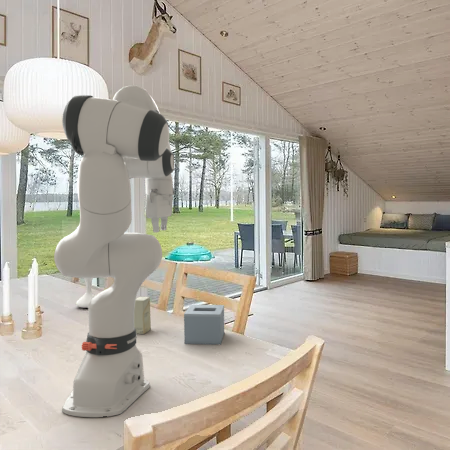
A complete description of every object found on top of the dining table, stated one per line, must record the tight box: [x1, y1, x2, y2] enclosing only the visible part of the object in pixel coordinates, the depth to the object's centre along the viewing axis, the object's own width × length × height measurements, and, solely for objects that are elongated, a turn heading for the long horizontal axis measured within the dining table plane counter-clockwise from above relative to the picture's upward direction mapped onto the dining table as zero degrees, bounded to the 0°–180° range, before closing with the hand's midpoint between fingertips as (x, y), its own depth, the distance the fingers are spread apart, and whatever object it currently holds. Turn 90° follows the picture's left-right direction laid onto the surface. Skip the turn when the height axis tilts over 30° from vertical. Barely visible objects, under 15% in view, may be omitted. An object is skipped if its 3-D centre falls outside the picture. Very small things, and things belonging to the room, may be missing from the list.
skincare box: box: [134, 296, 152, 335], centre depth 148 cm, size 6×4×12 cm
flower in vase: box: [75, 278, 97, 309], centre depth 184 cm, size 13×11×25 cm
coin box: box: [183, 304, 225, 346], centre depth 139 cm, size 12×12×10 cm
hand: (160, 231), depth 135 cm, fingers open, 8 cm apart
